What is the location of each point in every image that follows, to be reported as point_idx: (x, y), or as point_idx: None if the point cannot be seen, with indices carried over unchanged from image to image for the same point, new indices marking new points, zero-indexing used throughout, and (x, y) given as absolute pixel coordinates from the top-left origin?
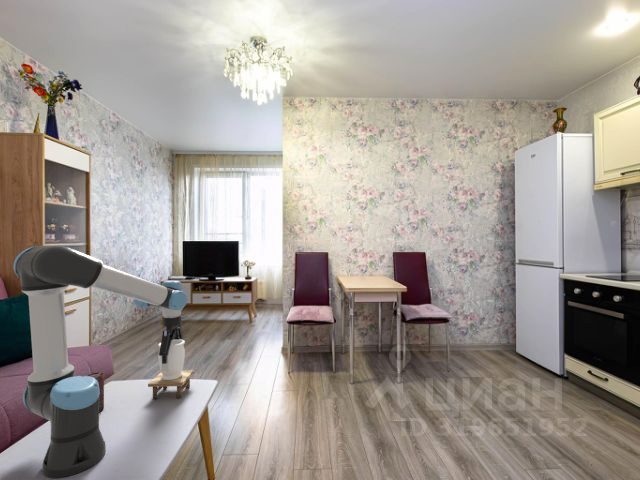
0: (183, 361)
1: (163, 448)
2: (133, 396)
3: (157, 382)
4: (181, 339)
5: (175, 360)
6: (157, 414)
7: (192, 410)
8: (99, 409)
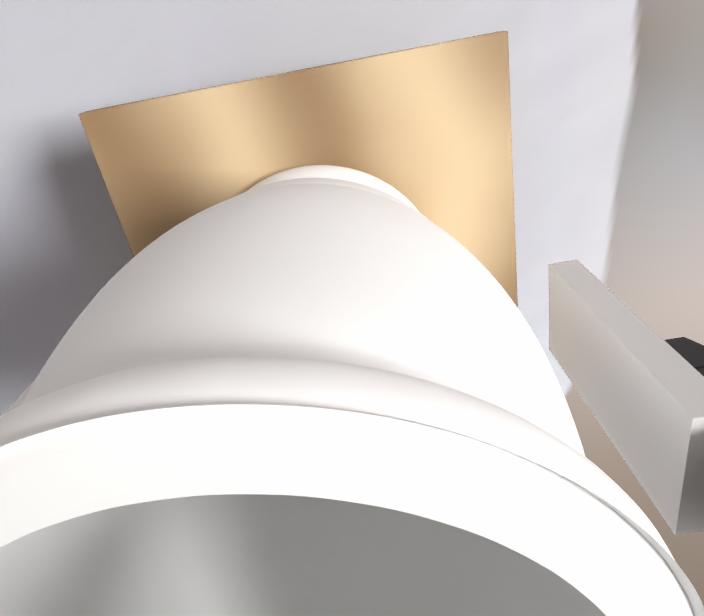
0: (353, 502)
1: None
2: None
3: (149, 205)
4: None
5: (185, 534)
6: (4, 307)
7: None
8: None
